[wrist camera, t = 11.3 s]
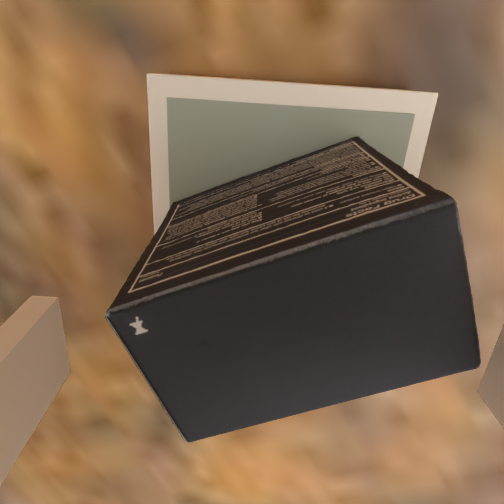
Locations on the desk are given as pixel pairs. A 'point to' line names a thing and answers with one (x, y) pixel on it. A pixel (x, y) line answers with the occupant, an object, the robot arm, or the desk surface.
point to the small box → (298, 292)
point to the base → (268, 128)
